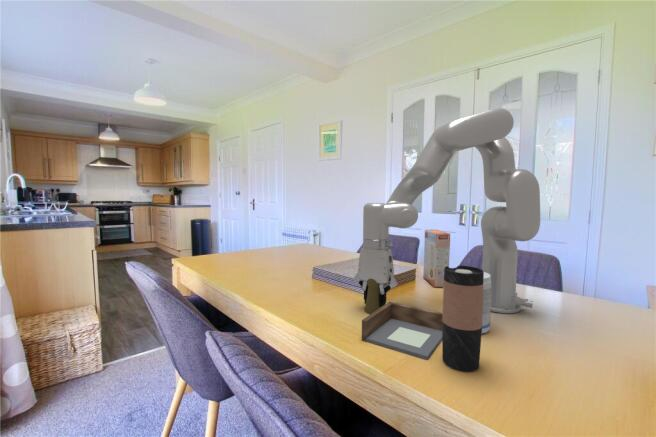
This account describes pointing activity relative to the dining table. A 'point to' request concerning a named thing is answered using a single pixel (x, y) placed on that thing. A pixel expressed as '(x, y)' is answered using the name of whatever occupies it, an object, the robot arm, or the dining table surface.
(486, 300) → the supplement tub
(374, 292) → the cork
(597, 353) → the dining table surface
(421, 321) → the walls
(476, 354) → the travel mug
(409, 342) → the mat
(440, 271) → the cracker box
